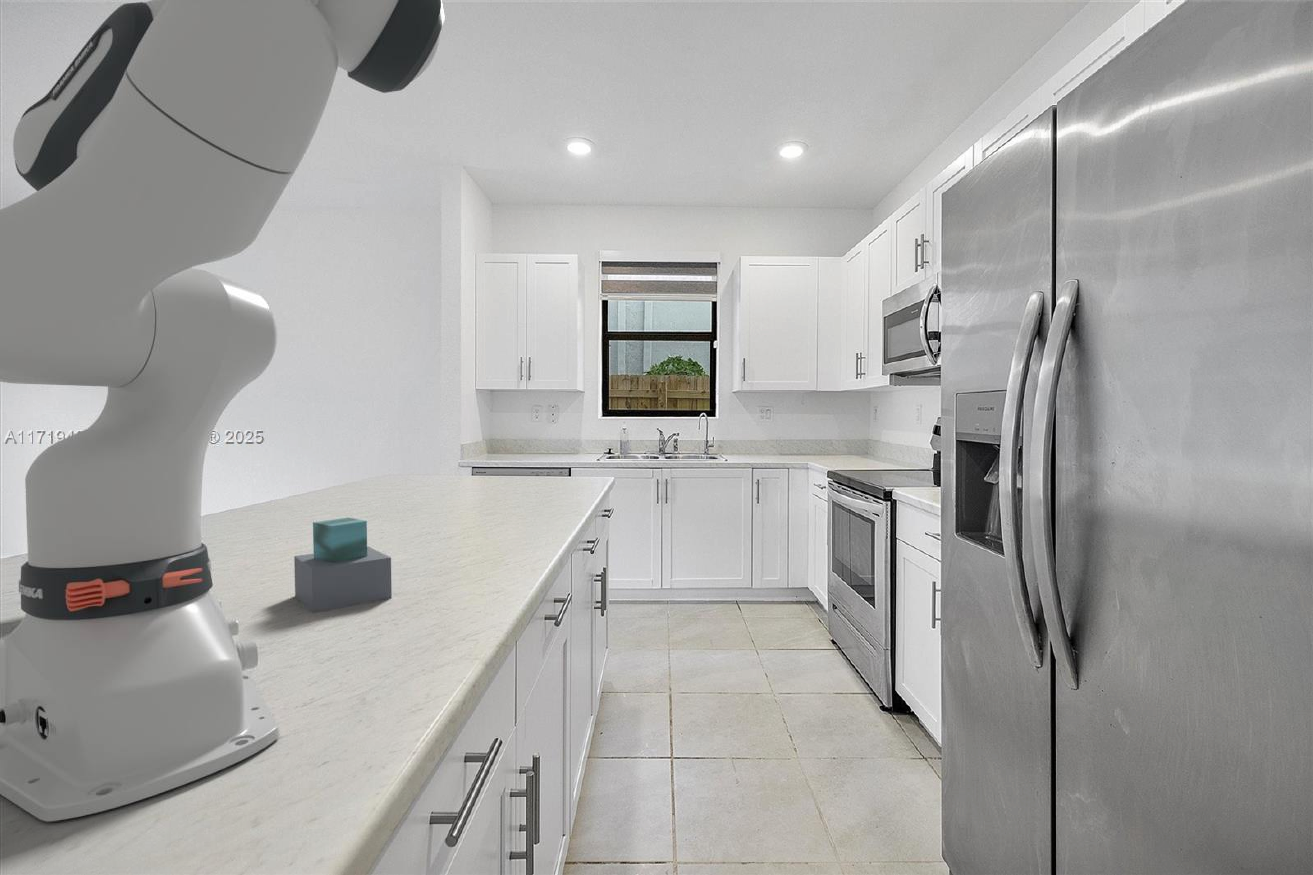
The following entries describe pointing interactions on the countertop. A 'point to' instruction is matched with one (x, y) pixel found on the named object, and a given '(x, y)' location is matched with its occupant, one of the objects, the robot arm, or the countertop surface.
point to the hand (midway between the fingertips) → (151, 372)
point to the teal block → (340, 539)
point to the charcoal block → (342, 581)
